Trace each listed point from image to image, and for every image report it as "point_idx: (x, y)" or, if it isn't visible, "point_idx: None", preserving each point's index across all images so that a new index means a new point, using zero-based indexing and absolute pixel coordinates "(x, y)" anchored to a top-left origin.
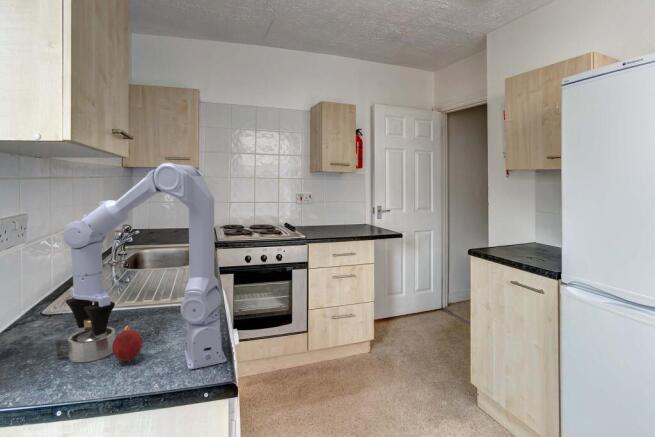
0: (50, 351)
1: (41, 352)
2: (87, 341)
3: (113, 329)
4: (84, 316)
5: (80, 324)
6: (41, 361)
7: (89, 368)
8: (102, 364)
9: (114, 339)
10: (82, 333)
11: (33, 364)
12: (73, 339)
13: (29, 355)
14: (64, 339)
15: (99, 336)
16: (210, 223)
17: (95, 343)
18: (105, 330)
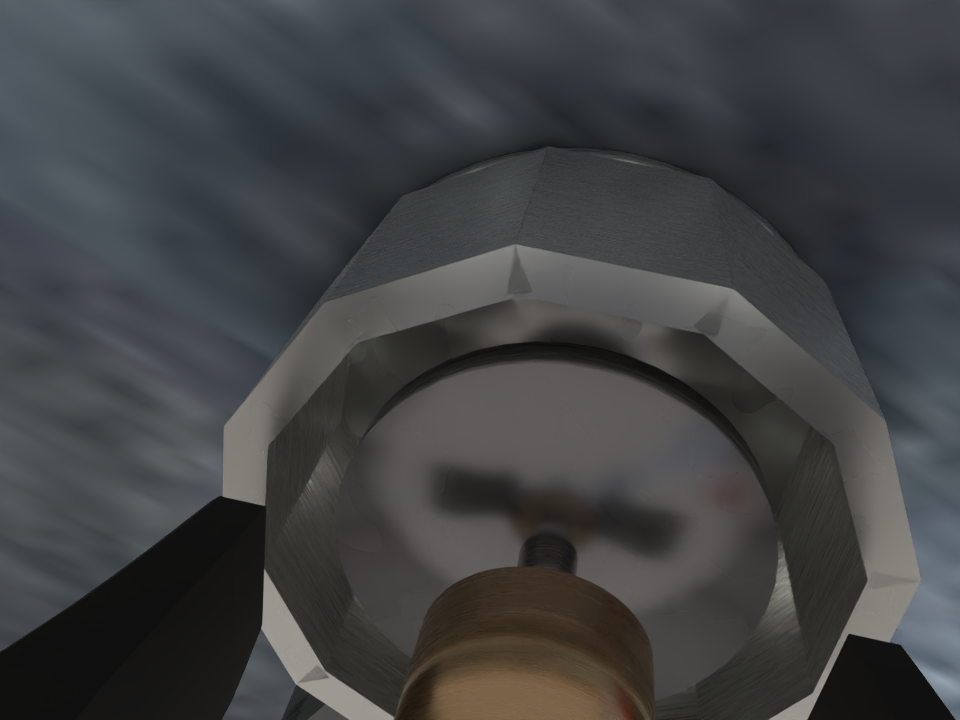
0: (83, 507)
1: (36, 544)
2: (677, 691)
3: (718, 314)
4: (162, 715)
5: (238, 670)
6: (259, 651)
7: None
8: (956, 548)
9: (858, 359)
10: (280, 512)
11: (263, 697)
12: (336, 617)
13: (22, 608)
14: (309, 718)
15: (694, 546)
16: None
17: None
18: (923, 683)
